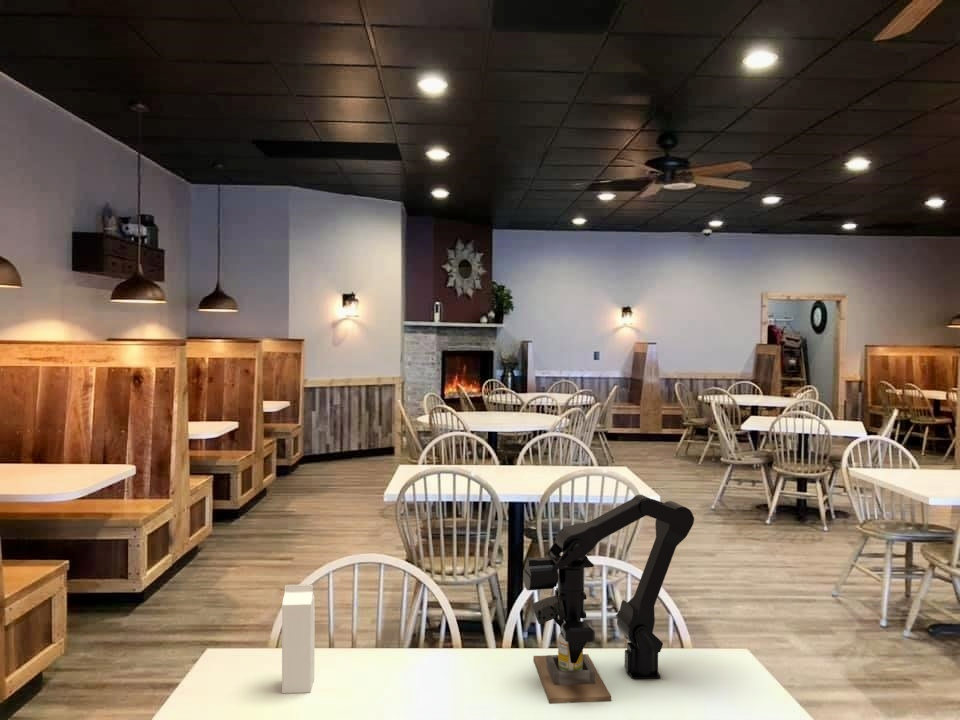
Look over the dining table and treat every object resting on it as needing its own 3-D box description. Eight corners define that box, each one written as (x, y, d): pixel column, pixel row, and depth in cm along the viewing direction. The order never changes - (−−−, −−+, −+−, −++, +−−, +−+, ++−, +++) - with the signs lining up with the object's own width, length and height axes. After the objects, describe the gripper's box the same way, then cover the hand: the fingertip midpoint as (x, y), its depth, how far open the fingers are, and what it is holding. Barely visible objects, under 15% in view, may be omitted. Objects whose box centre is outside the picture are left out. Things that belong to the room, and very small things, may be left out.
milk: (286, 680, 155) (286, 580, 155) (314, 679, 156) (314, 579, 155) (281, 694, 149) (281, 589, 149) (311, 693, 150) (311, 588, 149)
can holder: (588, 658, 167) (588, 643, 167) (611, 700, 147) (611, 684, 147) (533, 660, 166) (533, 645, 166) (549, 703, 146) (549, 686, 146)
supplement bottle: (582, 663, 159) (582, 620, 159) (583, 674, 154) (583, 630, 153) (557, 662, 160) (558, 619, 159) (558, 673, 154) (558, 629, 154)
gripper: (528, 574, 165) (527, 640, 165) (542, 603, 146) (542, 678, 147) (575, 572, 166) (574, 639, 166) (595, 601, 147) (594, 676, 148)
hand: (570, 657), depth 157 cm, fingers closed on supplement bottle, 5 cm apart
